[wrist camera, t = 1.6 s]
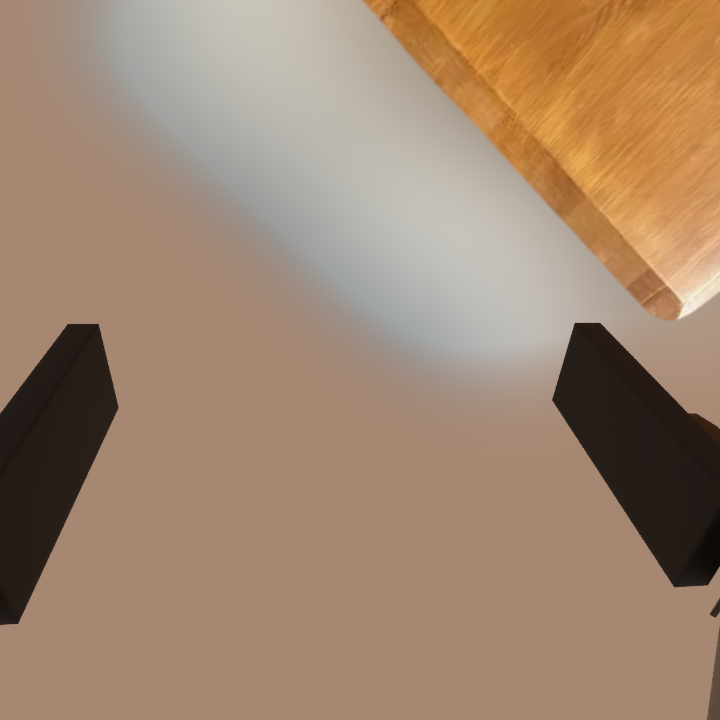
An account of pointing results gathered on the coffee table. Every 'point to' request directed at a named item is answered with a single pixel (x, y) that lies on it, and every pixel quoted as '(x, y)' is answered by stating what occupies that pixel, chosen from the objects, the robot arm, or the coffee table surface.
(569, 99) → the coffee table surface
